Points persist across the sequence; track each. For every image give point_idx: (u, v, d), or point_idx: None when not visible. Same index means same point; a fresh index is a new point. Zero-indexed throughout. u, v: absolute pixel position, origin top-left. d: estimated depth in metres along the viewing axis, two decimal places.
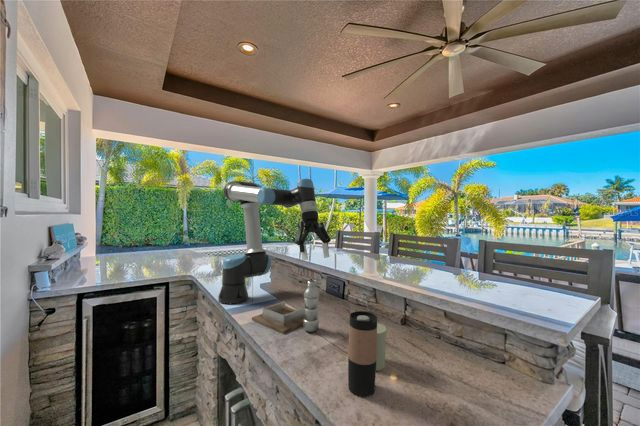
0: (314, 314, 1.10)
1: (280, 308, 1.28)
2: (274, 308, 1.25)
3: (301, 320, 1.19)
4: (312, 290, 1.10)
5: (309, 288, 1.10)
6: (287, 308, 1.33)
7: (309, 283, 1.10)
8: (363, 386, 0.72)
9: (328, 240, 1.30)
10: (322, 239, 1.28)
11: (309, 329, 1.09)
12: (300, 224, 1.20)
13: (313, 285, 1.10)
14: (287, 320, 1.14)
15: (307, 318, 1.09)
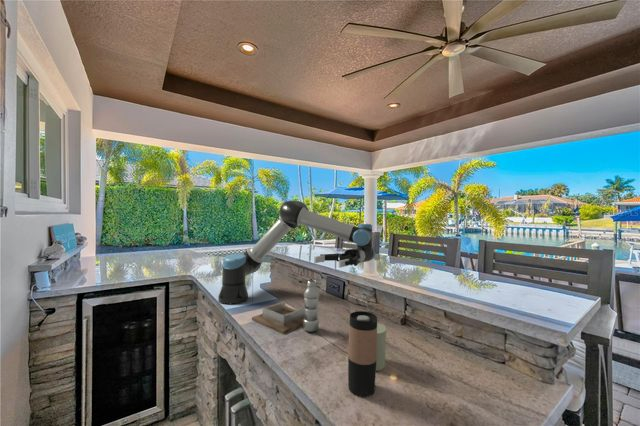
0: (314, 314, 1.10)
1: (280, 308, 1.28)
2: (274, 308, 1.25)
3: (301, 320, 1.19)
4: (312, 290, 1.10)
5: (309, 288, 1.10)
6: (287, 308, 1.33)
7: (309, 283, 1.10)
8: (363, 386, 0.72)
9: None
10: (328, 257, 1.29)
11: (309, 329, 1.09)
12: (359, 260, 1.26)
13: (313, 285, 1.10)
14: (287, 320, 1.14)
15: (307, 318, 1.09)
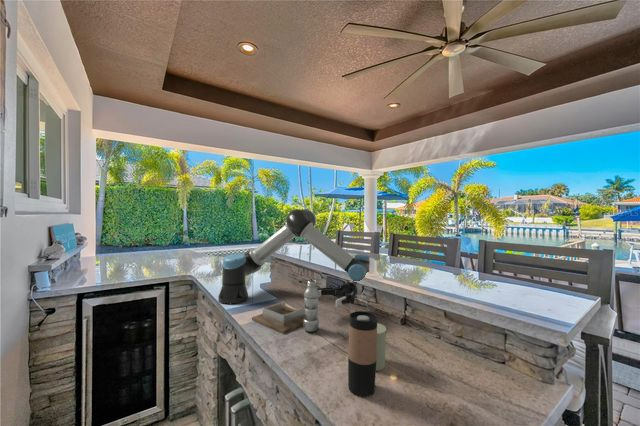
0: (314, 314, 1.10)
1: (280, 308, 1.28)
2: (274, 308, 1.25)
3: (301, 320, 1.19)
4: (312, 290, 1.10)
5: (309, 288, 1.10)
6: (287, 308, 1.33)
7: (309, 283, 1.10)
8: (363, 386, 0.72)
9: None
10: (324, 292, 1.27)
11: (309, 329, 1.09)
12: (356, 296, 1.24)
13: (313, 285, 1.10)
14: (287, 320, 1.14)
15: (307, 318, 1.09)
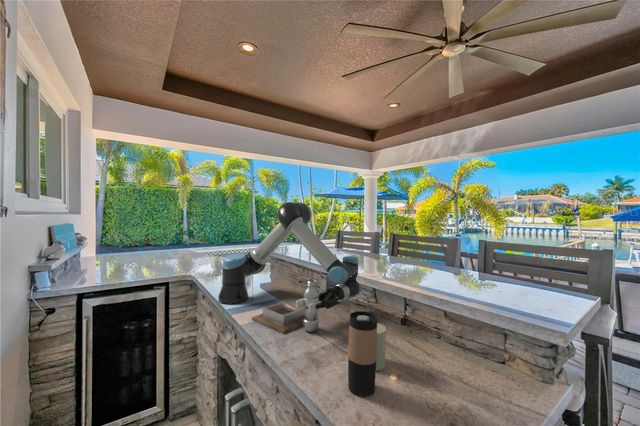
0: (314, 314, 1.10)
1: (280, 308, 1.28)
2: (274, 308, 1.25)
3: (301, 320, 1.19)
4: (312, 290, 1.10)
5: (309, 288, 1.10)
6: (287, 308, 1.33)
7: (309, 283, 1.10)
8: (363, 386, 0.72)
9: None
10: None
11: (309, 329, 1.09)
12: (339, 301, 1.16)
13: (313, 285, 1.10)
14: (287, 320, 1.14)
15: (307, 318, 1.09)
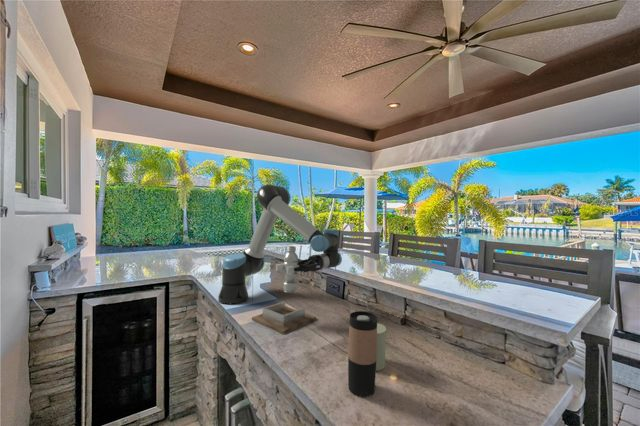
0: (293, 277, 1.18)
1: (280, 308, 1.28)
2: (274, 308, 1.25)
3: (301, 320, 1.19)
4: (291, 254, 1.18)
5: (288, 253, 1.18)
6: (287, 308, 1.33)
7: (288, 248, 1.18)
8: (363, 386, 0.72)
9: None
10: None
11: (288, 291, 1.17)
12: (318, 267, 1.24)
13: (292, 250, 1.18)
14: (287, 320, 1.14)
15: (286, 281, 1.17)
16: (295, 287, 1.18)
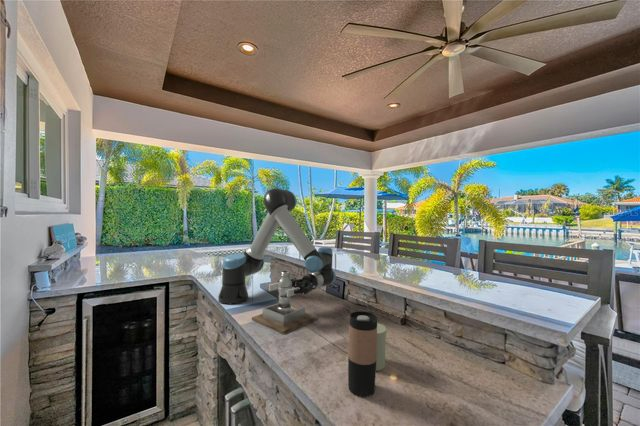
0: (287, 302, 1.20)
1: None
2: (274, 308, 1.25)
3: (301, 320, 1.19)
4: (285, 280, 1.20)
5: (282, 278, 1.20)
6: None
7: (282, 273, 1.20)
8: (363, 386, 0.72)
9: None
10: None
11: None
12: (314, 287, 1.26)
13: (286, 275, 1.20)
14: (287, 320, 1.14)
15: (280, 305, 1.19)
16: (289, 312, 1.20)
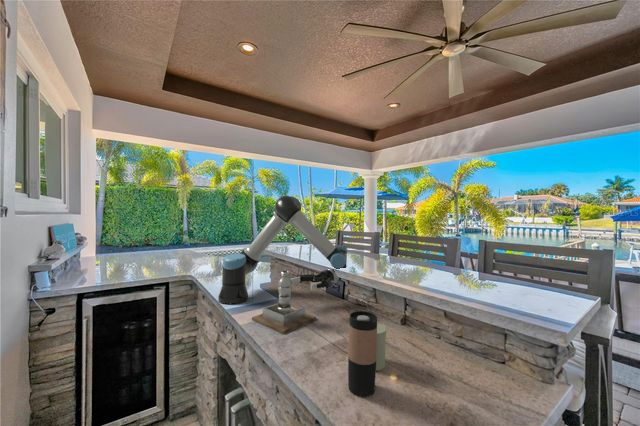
0: (286, 302, 1.20)
1: None
2: (274, 308, 1.25)
3: (301, 320, 1.19)
4: (285, 280, 1.20)
5: (282, 278, 1.20)
6: None
7: (282, 273, 1.20)
8: (363, 386, 0.72)
9: None
10: (303, 278, 1.40)
11: None
12: (332, 282, 1.37)
13: (286, 275, 1.20)
14: (287, 320, 1.14)
15: (280, 305, 1.20)
16: (289, 312, 1.20)
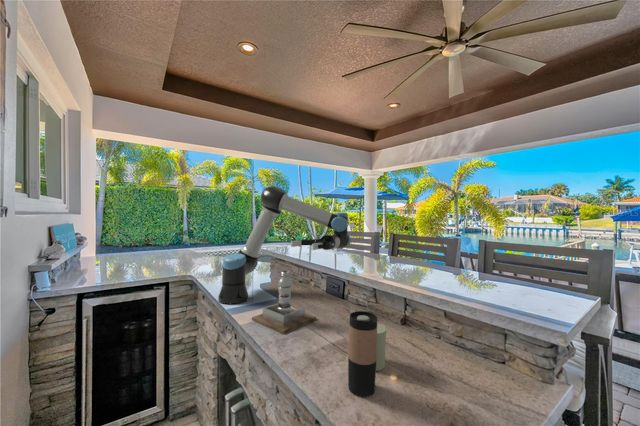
0: (286, 302, 1.20)
1: None
2: (274, 308, 1.25)
3: (301, 320, 1.19)
4: (285, 280, 1.20)
5: (282, 278, 1.20)
6: None
7: (282, 273, 1.20)
8: (363, 386, 0.72)
9: None
10: (304, 242, 1.39)
11: None
12: (333, 245, 1.37)
13: (286, 275, 1.20)
14: (287, 320, 1.14)
15: (280, 305, 1.20)
16: (289, 312, 1.20)
